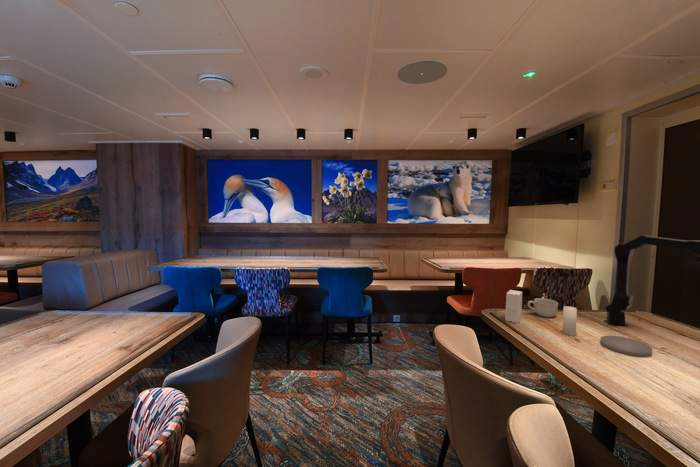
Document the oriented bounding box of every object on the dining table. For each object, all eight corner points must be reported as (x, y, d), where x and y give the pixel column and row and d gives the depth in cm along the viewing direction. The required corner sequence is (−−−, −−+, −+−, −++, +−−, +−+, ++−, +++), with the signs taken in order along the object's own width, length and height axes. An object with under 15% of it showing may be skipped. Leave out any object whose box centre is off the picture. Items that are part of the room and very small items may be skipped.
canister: (560, 331, 132) (560, 306, 132) (570, 331, 132) (571, 306, 132) (567, 336, 128) (568, 309, 127) (578, 336, 127) (579, 309, 127)
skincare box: (509, 316, 153) (509, 289, 152) (522, 319, 149) (522, 291, 148) (504, 321, 147) (505, 292, 146) (518, 324, 143) (518, 294, 142)
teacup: (555, 313, 157) (555, 299, 156) (560, 320, 147) (560, 304, 146) (525, 310, 163) (525, 296, 162) (528, 316, 153) (528, 301, 152)
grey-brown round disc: (590, 340, 123) (591, 335, 123) (627, 340, 122) (627, 335, 122) (622, 356, 108) (622, 351, 108) (664, 357, 108) (664, 352, 107)
